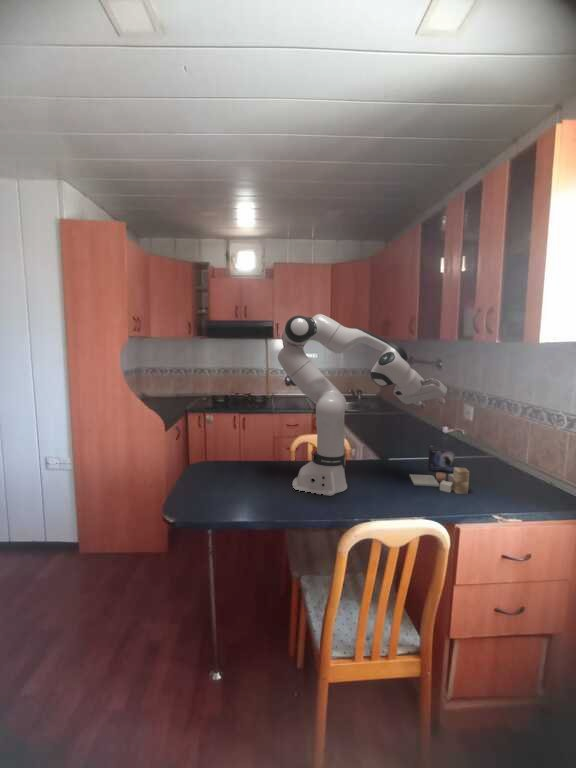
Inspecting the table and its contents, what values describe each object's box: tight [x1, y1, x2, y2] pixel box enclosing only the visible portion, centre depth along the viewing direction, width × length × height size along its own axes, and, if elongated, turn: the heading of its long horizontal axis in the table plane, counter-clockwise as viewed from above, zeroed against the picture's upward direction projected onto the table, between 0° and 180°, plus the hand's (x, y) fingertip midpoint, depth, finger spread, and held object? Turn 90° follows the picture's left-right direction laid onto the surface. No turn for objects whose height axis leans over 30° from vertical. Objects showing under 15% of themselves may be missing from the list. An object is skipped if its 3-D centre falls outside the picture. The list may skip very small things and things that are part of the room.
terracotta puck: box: [435, 471, 447, 483], centre depth 158 cm, size 4×4×3 cm
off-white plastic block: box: [439, 480, 454, 493], centre depth 148 cm, size 4×4×3 cm
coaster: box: [409, 473, 440, 487], centre depth 157 cm, size 10×10×1 cm
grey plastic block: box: [447, 473, 453, 483], centre depth 156 cm, size 4×4×3 cm
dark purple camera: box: [427, 445, 456, 474], centre depth 169 cm, size 11×6×10 cm, turn 76°
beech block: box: [452, 466, 470, 495], centre depth 146 cm, size 4×4×9 cm
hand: (433, 404), depth 148 cm, fingers open, 8 cm apart
